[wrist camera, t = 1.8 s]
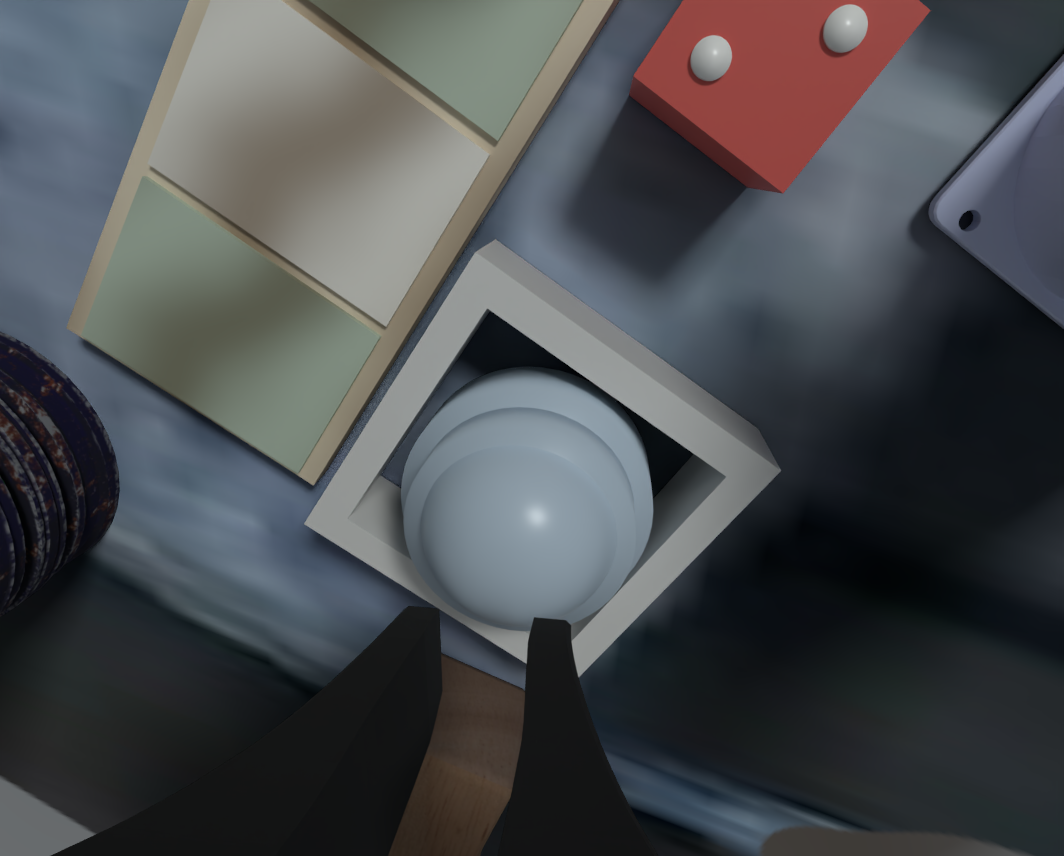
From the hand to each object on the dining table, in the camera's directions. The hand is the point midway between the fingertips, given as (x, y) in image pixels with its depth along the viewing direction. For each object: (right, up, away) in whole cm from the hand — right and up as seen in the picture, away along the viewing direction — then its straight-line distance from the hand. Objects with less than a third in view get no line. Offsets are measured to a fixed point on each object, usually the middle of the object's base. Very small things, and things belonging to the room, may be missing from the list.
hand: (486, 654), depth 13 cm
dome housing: (+1, +4, +9) cm, 9 cm away
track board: (-3, +14, +5) cm, 15 cm away
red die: (+6, +14, +4) cm, 15 cm away
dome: (+1, +3, +7) cm, 8 cm away
